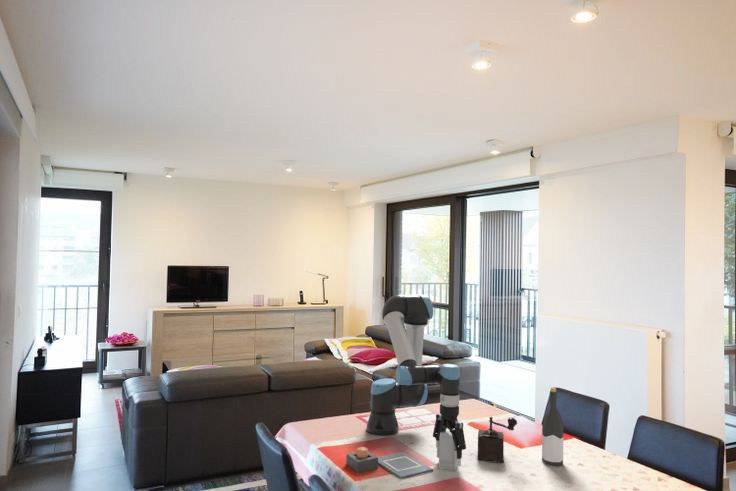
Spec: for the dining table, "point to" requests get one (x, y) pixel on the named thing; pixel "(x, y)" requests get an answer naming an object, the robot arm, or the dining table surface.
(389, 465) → the slate board
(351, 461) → the button housing
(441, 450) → the supplement box
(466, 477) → the dining table surface
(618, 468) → the dining table surface
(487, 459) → the manual coffee grinder
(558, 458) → the wine bottle
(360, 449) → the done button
